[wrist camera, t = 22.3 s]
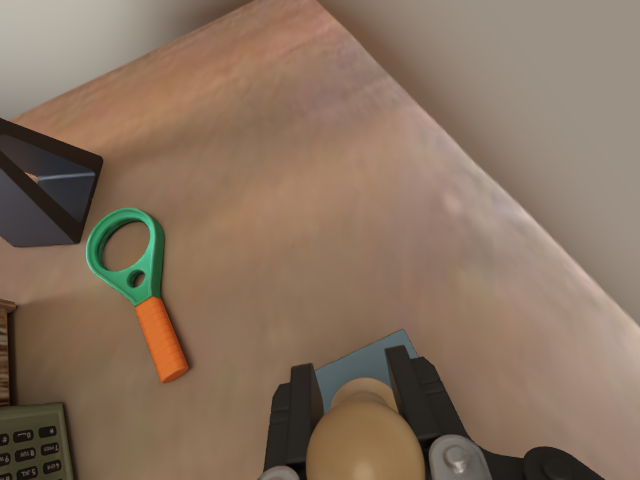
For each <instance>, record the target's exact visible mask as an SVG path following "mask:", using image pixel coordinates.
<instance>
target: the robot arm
mask: <svg viewBox="0 0 640 480" xmlns="http://www.w3.org/2000/svg"><path fill="white" fill-rule="evenodd" d="M384 351H385V356H386V362H387V367H388V372H389V378H390V383H391V387H392V391H393V395H394V399H395V402H396V406H397V409H398V413H399V414H400V415H401V416H402V417H403V418H404V419H405V421H406V422H407V423H408V424H409V426H410V427H411V428H412V430H413V432H414V434H415V435H416V437H417V439H418V442H419V444H420V447H421V450H422V453H423V457H424V463H425V474H426V476H425V480H605V479H604V478H602V477H601V476H599V475H598V474H597V473H595V472H594V471H593V470H591V469H590V468H588V467H587V466H586V465H584V464H583V463H582V462H580V461H579V460H577V459H576V458H575V457H573V456H572V455H570V454H568V453H566V452H564V451H562V450H560V449H557V448H553V447H546V446H543V447H536V448H533V449H531V450H530V451H528V452H527V453H526V454H525V456H524V458H517V457H510V456H503V455H498V454H494V453H491V452H489V451H487V450H485V449H483V448H481V447H480V446H478V445H477V444H476V443H475V442H474V441H473V440H472V439H471V438H470V437H469V436H468V434H467V432H466V431H465V429H464V427H463V424H462V422H461V420H460V418H459V416H458V414H457V412H456V410H455V408H454V406H453V404H452V402H451V400H450V398H449V396H448V394H447V392H446V390H445V387H444V385H443V383H442V381H441V380H440V377H439V375H438V373H437V371H436V369H435V367H434V366H433V365H432V364H431V363H430V362H429V361H428V360H426V359H425V358H424V357H418V358H413V359H410V357H409V354H408V352H407V349H406V347H405V345H399V346H394V347H389V348H384ZM323 416H324V405H323V399H322V395H321V391H320V388H319V384H318V381H317V377H316V374H315V370H314V367H313V364H312V363H308V364H303V365H298V366H293V367H292V368H291V380H290V383H285V384H280V385H279V387H278V389H277V390H276V392H275V394H274V396H273V398H272V406H271V414H270V425H269V430H268V438H267V447H266V455H265V463H264V470H263V474H262V475H261V476H260V477H259V478H258V479H257V480H307V475H306V454H307V448H308V444H309V441H310V438H311V435H312V433H313V431H314V429H315V427H316V425H317V424H318V422H319V421H320V420H321V418H322V417H323Z"/></svg>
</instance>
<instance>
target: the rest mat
mask: <svg viewBox="0 0 640 480" xmlns="http://www.w3.org/2000/svg"><path fill="white" fill-rule="evenodd" d="M399 345H405V347H406V349H407V352H408V354H409V357H410V359H413V358H418V355H417V353H416V351H415V349H414V348H413V346H412V344H411V342H410V340H409V338H408V336H407V334H406V332H405V331H404V329H402V330H400V331H398V332H395V333H393V334H391V335H389V336H387V337H385V338H383V339H381V340H379V341H377V342H374V343H372V344H370V345H368V346H366V347H364V348H362V349H360V350H358V351H355V352H353V353H351V354H349V355H347V356H345V357H343V358H341V359H339V360H336V361H334V362H332V363H330V364H328V365H326V366H324V367H322V368H320V369H318V370H315V374H316V377H317V381H318V384H319V388H320V391H321V395H322V399H323V405H324V415H325V414H326V413H327V412H328V411H329V410H330V408H331V404H332V401H333V398H334V396H335V394H336V393H337V391H338V390H339V389H340V388H341V387H342V386H343V385H344V384H345V383H347V382H349V381H350V380H353V379H356V378H361V377H369V378H374V379H377V380H379V381H381V382H383V383H385V384H386V385H387V386H389V387H390V388H391V389H392V387H391V383H390V378H389V372H388V367H387V362H386V356H385V351H384V348H389V347H394V346H399Z"/></svg>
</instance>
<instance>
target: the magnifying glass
mask: <svg viewBox="0 0 640 480" xmlns="http://www.w3.org/2000/svg"><path fill="white" fill-rule="evenodd" d="M131 221H142V222H145V223H146V224H147V226H148V227H149V230H150V242H149V245H148V248H147V250H146V252H145V254H144V255H143V256H142V257H141V258H140V260H139V261H137V262H136V263H135V264H134V265H132V266H131V267H129V268H127V269H124V270H121V271H109V270H108V269H107V268H106V267H105V266H104V264H103V262H102V250H103V246H104V244H105V242H106V240H107V238H108V237H109V236H110V234H111V233H112V232H113V231H114V230H115V229H117V228H118V227H119V226H121V225H123V224H125V223H128V222H131ZM163 250H164V235H163V231H162V228H161V226H160V225H159V223H158V222H157V221H156V220H155V219H154V218H153V217H151V216H150V215H149V214H147V213H145V212H143V211H141V210H139V209H136V208H121V209H118V210H115V211H113V212H111V213H109V214H108V215H106V216H105V217H103V218H102V219H101V220H100V221H99V222H98V223H97V224H96V226H95V227H94V228H93V230H92V232H91V234H90V236H89V238H88V242H87V246H86V259H87V263H88V265H89V267H90V269H91V270H92V272H93V273H94V274H95V275H96V276H98V277H99V278H100V279H102V280H103V281H104V282H106V283H107V284H108V285H110V286H111V287H112V288H114V289H115V290H116V291H118V292H119V293H120V294H122V295H123V296H124V297H126V298H127V299H129V300H130V301H131V303H132V304H133V306H134V307H135V310H136V313H137V316H138V319H139V322H140V325H141V327H142V330H143V333H144V336H145V339H146V342H147V344H148V347H149V350H150V353H151V356H152V359H153V361H154V365H155V367H156V370H157V373H158V375H159V378H160V381H161V383H166V382H170V381H172V380H174V379H176V378H177V377H179V376H180V375H182V374H183V373H185V372H186V371H187V370H188V365H187V362H186V359H185V357H184V354H183V352H182V350H181V347H180V344H179V342H178V339H177V337H176V334H175V332H174V330H173V327H172V325H171V322H170V319H169V317H168V314H167V312H166V309H165V307H164V304H163V302H162V300H161V297H160V282H161V272H162V261H163ZM143 272H144V273H145V279H144V281H143V283H142V284H141V285H140V286H138V287H136V288H134V286H133V283H134V279H135V278H136V276H137V275H139V274H140V273H143Z"/></svg>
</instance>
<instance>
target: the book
mask: <svg viewBox="0 0 640 480" xmlns="http://www.w3.org/2000/svg"><path fill="white" fill-rule="evenodd" d="M15 309H16V304H15V302H11V301H6V300H2V299H0V407H10V395H9V363H8V331H7V314H8V313H10V312H12V311H14V310H15Z"/></svg>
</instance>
